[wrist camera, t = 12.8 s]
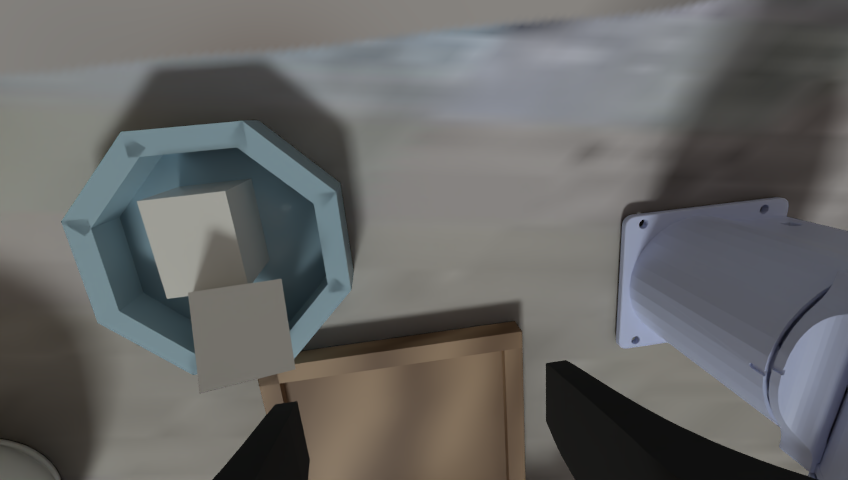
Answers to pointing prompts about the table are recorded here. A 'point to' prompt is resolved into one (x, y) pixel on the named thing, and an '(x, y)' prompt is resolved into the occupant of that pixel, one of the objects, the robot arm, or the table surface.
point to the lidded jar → (24, 463)
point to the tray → (411, 406)
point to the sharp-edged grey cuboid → (240, 333)
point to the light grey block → (205, 236)
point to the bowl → (199, 164)
